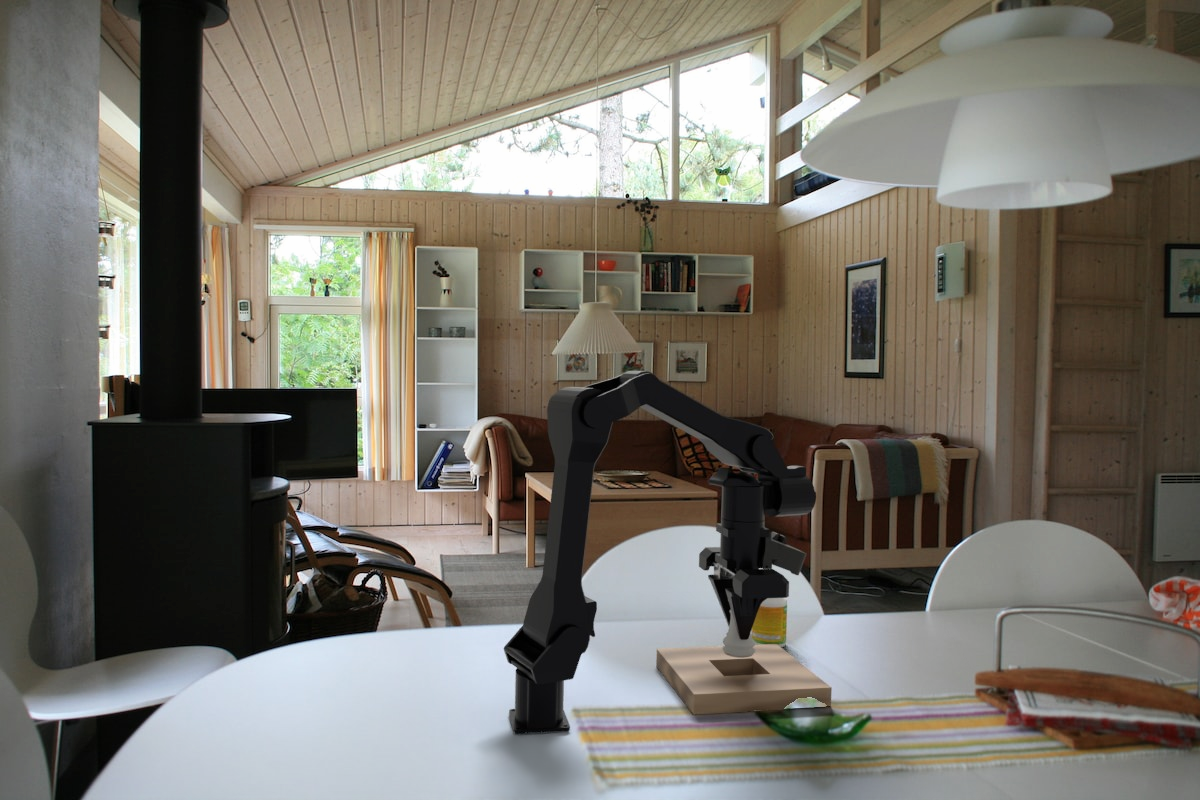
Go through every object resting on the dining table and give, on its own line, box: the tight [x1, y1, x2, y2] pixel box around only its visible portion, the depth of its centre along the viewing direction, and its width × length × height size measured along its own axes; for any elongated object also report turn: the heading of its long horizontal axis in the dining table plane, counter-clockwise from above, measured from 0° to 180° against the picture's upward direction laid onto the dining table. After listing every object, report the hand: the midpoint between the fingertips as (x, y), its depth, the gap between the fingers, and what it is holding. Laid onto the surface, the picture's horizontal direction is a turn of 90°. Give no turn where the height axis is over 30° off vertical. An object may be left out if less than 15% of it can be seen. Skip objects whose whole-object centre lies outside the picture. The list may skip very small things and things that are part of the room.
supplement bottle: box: [751, 598, 788, 648], centre depth 138 cm, size 5×5×10 cm
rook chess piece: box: [722, 610, 755, 658], centre depth 119 cm, size 4×4×8 cm
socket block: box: [655, 644, 833, 716], centre depth 119 cm, size 18×18×2 cm
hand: (739, 635), depth 119 cm, fingers closed on rook chess piece, 3 cm apart
